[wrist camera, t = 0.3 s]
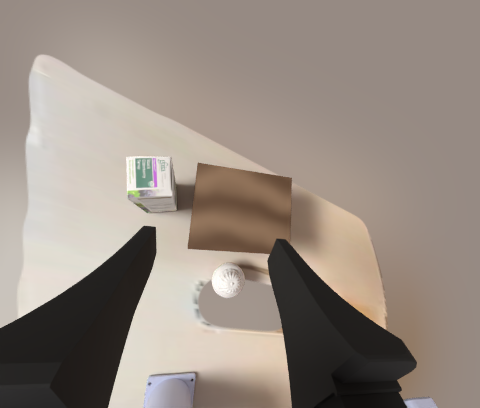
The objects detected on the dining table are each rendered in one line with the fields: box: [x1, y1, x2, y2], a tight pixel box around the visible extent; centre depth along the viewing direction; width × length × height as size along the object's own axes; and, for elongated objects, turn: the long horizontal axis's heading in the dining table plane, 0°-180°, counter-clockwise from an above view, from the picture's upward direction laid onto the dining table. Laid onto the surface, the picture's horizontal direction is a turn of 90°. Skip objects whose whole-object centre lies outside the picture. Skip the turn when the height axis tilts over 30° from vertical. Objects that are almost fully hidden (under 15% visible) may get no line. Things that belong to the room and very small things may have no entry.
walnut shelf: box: [188, 163, 292, 254], centre depth 37 cm, size 13×16×12 cm
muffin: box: [212, 263, 245, 298], centre depth 37 cm, size 6×6×7 cm
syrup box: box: [126, 156, 177, 213], centre depth 33 cm, size 6×6×14 cm
